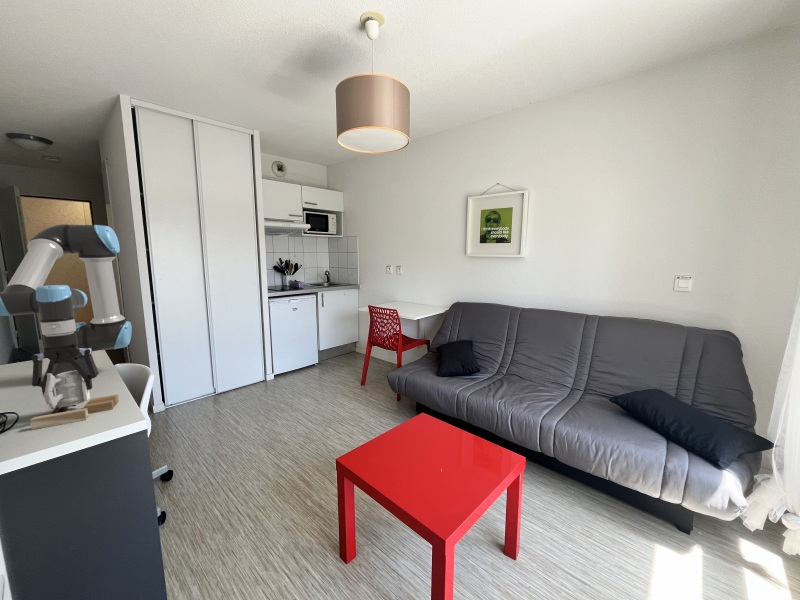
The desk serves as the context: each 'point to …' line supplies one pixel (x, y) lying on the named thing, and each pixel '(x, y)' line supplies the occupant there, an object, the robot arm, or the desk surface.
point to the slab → (102, 404)
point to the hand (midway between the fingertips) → (70, 402)
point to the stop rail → (59, 418)
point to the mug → (64, 389)
